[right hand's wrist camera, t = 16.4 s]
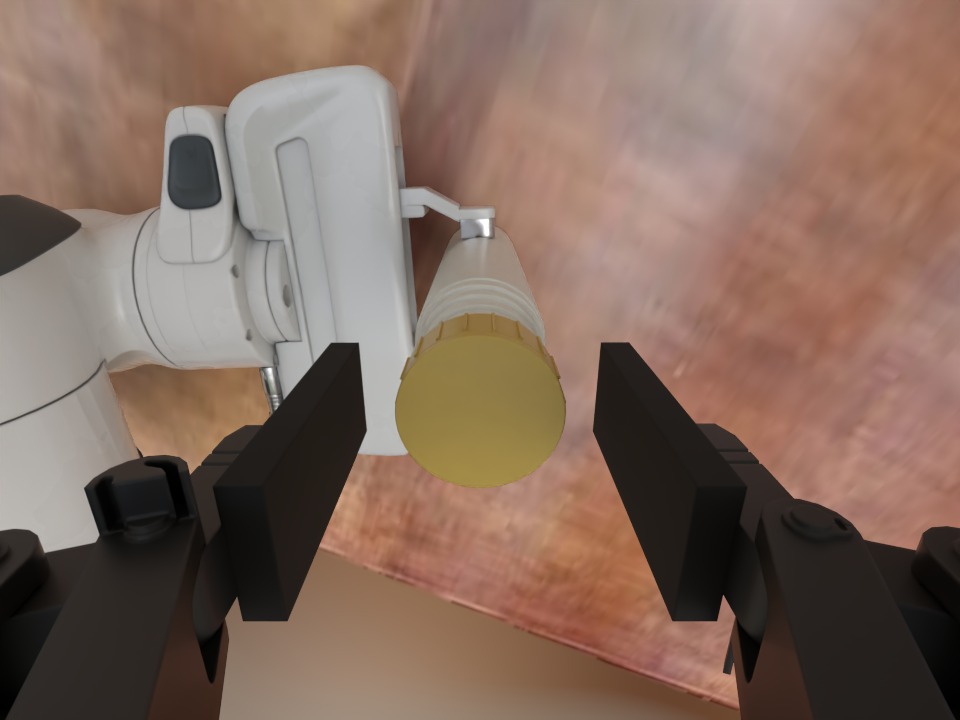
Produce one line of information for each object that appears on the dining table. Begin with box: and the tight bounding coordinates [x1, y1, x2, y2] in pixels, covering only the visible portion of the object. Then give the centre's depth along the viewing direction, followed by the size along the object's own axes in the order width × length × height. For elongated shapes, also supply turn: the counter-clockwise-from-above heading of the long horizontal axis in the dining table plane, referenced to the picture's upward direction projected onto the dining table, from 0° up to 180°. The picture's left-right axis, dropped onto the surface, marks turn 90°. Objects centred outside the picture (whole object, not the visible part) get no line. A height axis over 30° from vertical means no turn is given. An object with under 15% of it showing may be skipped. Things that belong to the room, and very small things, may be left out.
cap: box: [395, 313, 566, 488], centre depth 13 cm, size 4×4×2 cm
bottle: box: [415, 226, 545, 347], centre depth 23 cm, size 5×5×22 cm
